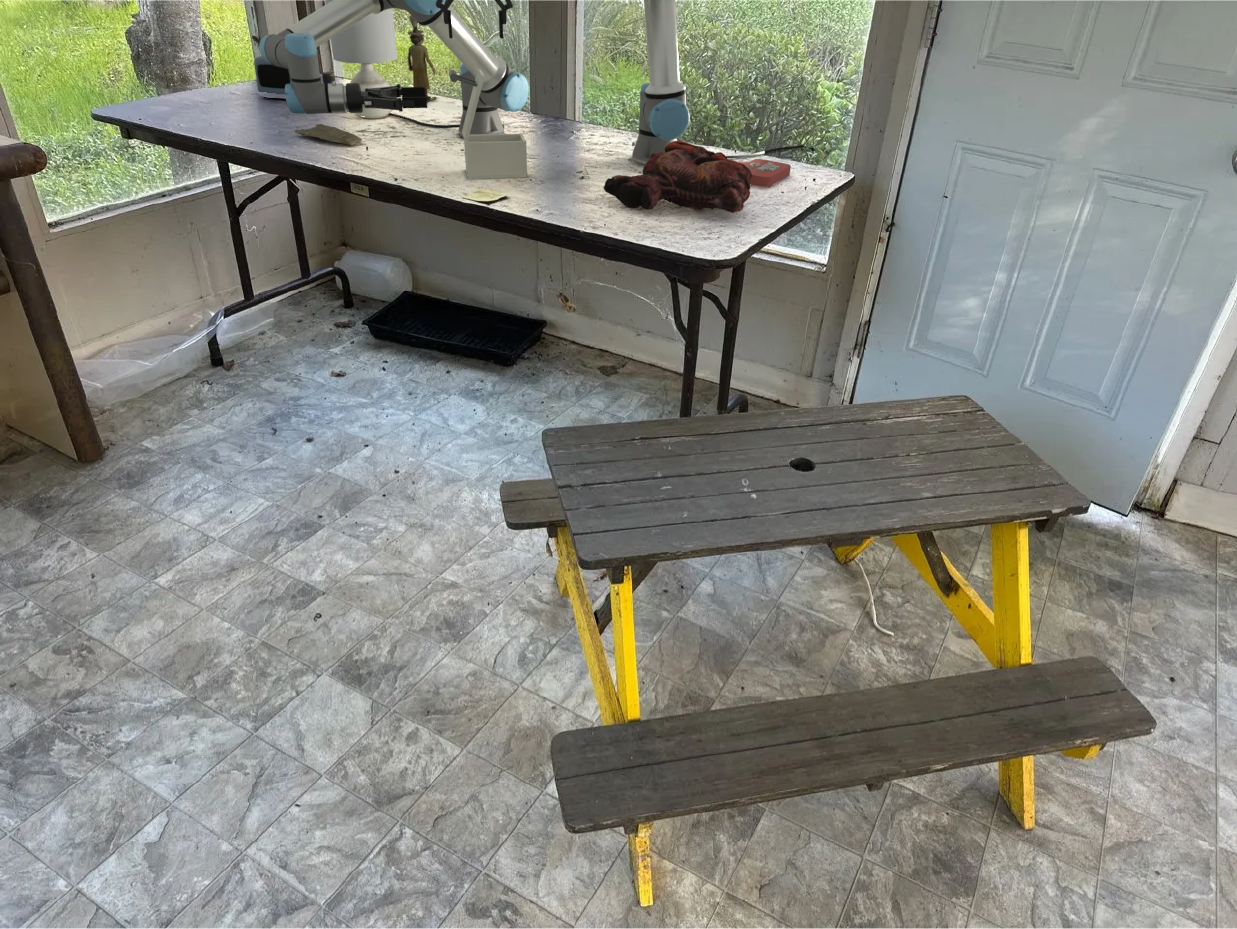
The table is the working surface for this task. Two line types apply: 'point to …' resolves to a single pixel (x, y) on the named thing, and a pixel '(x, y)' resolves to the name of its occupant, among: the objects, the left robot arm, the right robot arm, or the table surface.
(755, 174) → the plaque
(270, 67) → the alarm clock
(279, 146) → the table surface
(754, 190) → the table surface
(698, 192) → the sculpture
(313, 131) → the stone tool
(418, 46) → the figurine
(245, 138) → the table surface
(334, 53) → the lamp
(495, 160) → the chest
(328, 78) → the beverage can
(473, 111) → the lid
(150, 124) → the table surface
